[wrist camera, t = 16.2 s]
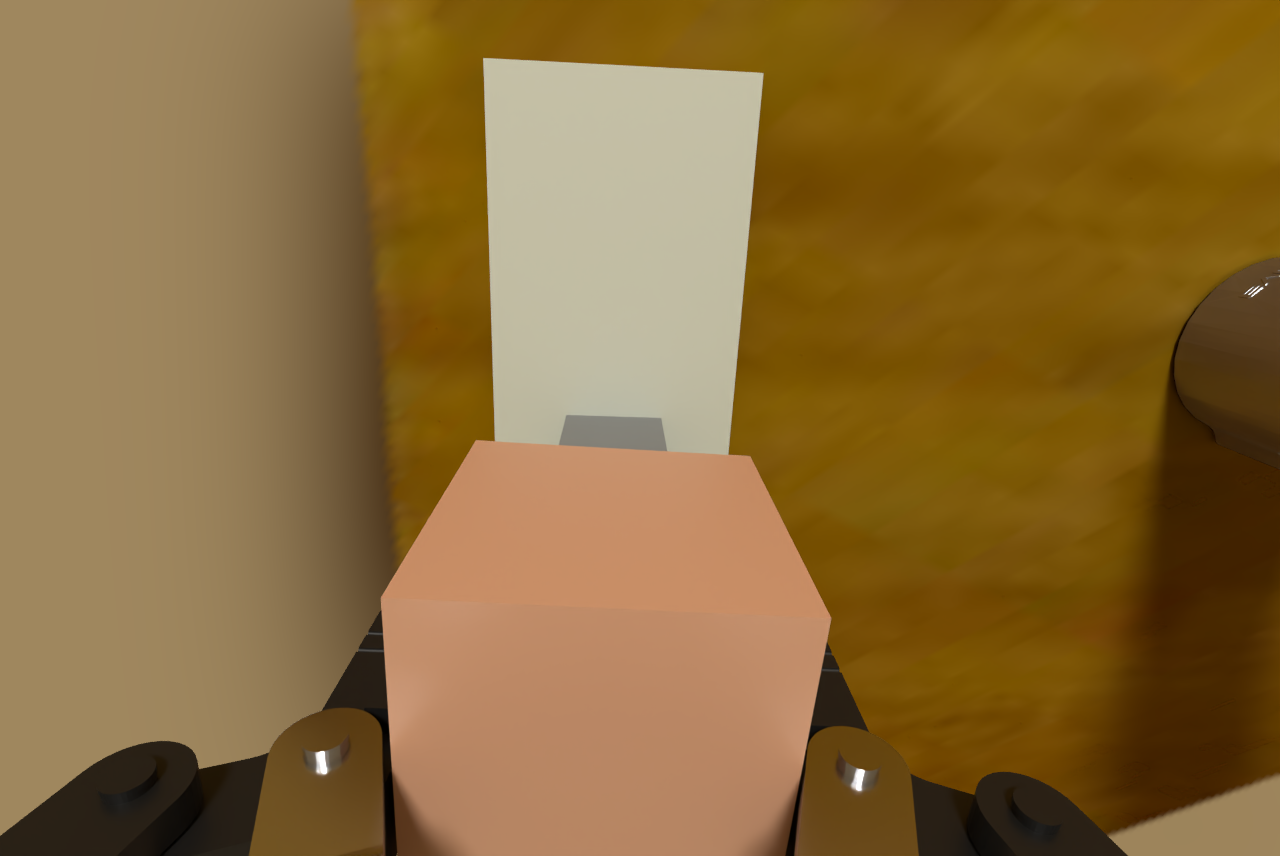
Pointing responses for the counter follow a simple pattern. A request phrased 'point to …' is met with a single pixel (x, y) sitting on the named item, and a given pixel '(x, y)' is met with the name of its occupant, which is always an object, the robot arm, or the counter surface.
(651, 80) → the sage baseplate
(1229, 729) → the counter surface
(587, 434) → the charcoal brick
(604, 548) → the terracotta brick
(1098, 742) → the counter surface
